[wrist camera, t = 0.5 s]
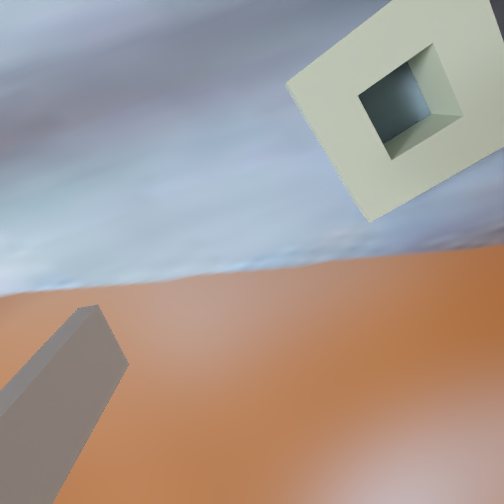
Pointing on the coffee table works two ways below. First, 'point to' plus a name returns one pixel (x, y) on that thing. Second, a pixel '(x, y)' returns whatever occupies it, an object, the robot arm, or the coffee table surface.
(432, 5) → the socket block
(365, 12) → the coffee table surface
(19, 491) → the robot arm
